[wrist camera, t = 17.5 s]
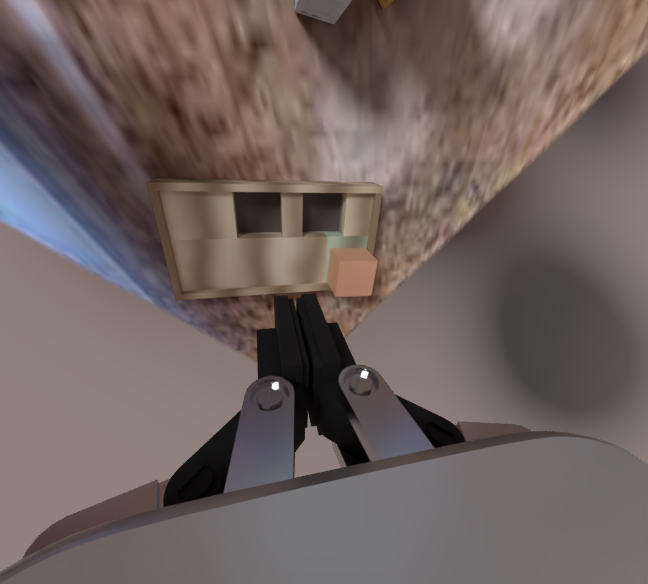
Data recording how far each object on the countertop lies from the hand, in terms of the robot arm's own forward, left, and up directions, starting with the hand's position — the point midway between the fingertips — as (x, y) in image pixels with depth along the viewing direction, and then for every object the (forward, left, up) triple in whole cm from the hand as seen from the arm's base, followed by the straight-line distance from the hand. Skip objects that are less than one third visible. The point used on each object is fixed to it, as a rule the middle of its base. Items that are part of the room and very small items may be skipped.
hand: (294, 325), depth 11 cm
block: (+10, -9, -25) cm, 28 cm away
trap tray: (+1, -5, -27) cm, 28 cm away
